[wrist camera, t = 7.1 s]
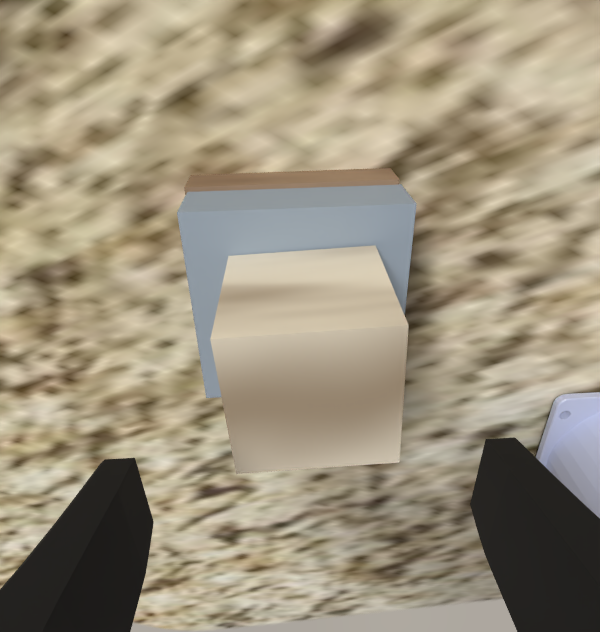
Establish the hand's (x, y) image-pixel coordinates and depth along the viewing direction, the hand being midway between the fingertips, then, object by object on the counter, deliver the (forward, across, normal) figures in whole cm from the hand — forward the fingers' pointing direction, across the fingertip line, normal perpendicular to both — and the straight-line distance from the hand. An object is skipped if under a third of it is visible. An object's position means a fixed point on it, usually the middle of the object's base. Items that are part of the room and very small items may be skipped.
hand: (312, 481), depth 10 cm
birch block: (+7, 0, 0) cm, 7 cm away
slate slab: (+9, 0, 0) cm, 9 cm away
